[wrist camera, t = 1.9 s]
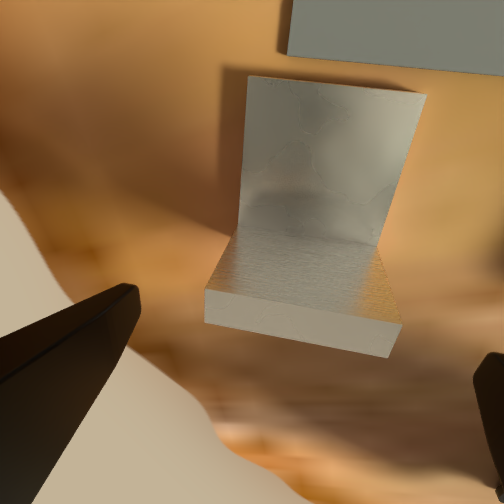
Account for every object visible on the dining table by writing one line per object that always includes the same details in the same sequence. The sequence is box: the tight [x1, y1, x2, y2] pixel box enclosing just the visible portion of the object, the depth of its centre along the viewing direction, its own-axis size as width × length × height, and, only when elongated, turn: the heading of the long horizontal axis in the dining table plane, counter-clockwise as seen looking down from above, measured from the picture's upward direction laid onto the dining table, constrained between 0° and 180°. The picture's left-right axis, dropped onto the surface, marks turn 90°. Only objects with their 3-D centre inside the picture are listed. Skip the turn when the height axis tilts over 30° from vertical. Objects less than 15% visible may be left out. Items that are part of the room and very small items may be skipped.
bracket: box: [205, 75, 427, 358], centre depth 9 cm, size 6×5×5 cm
